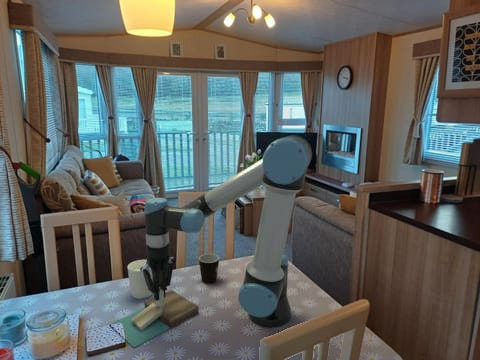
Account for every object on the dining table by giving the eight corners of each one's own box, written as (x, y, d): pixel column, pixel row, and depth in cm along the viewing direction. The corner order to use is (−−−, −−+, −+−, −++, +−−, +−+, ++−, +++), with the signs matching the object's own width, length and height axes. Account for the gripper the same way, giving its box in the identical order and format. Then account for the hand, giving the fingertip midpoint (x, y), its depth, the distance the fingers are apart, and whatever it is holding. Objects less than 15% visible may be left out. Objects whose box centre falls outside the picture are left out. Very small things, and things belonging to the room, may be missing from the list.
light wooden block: (163, 313, 116) (162, 309, 115) (141, 330, 110) (140, 327, 110) (154, 306, 120) (153, 302, 119) (132, 322, 114) (130, 319, 114)
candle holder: (141, 302, 127) (139, 273, 124) (123, 295, 132) (121, 266, 129) (160, 291, 135) (159, 263, 132) (143, 284, 140) (141, 257, 137)
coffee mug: (209, 287, 138) (209, 264, 136) (194, 280, 143) (194, 258, 141) (227, 276, 147) (227, 255, 145) (213, 270, 152) (212, 249, 150)
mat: (169, 328, 112) (169, 327, 112) (134, 348, 103) (134, 347, 103) (143, 309, 123) (143, 308, 123) (109, 325, 113) (109, 324, 113)
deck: (198, 312, 121) (198, 306, 120) (170, 327, 112) (170, 321, 112) (171, 295, 132) (171, 289, 131) (144, 308, 123) (144, 302, 123)
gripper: (167, 235, 120) (169, 295, 125) (134, 246, 111) (137, 310, 116) (180, 241, 115) (181, 303, 120) (146, 252, 106) (149, 319, 111)
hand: (160, 306), depth 118 cm, fingers closed
